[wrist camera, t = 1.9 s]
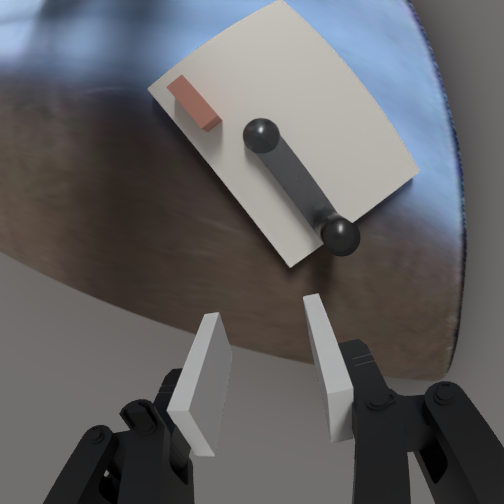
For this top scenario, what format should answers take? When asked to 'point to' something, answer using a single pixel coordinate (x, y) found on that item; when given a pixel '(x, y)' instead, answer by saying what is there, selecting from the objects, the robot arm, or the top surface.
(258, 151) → the swing bar
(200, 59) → the board
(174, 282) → the top surface
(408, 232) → the top surface
